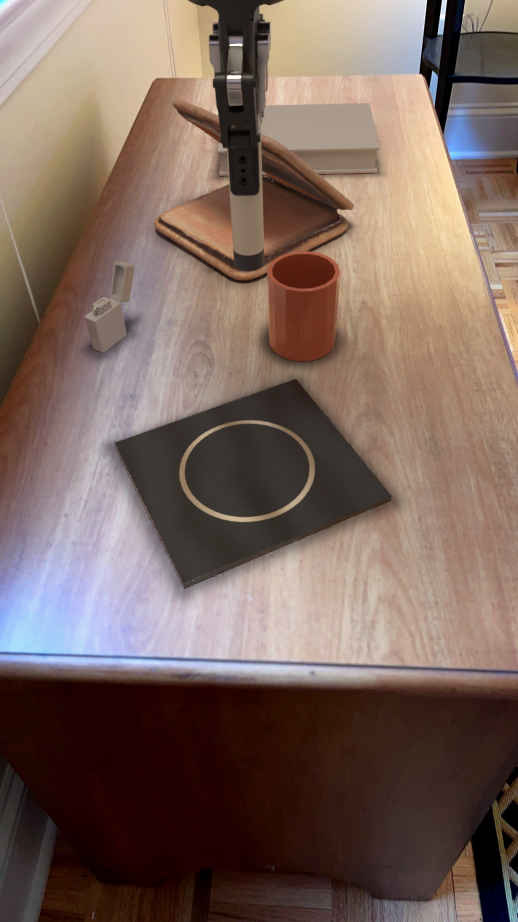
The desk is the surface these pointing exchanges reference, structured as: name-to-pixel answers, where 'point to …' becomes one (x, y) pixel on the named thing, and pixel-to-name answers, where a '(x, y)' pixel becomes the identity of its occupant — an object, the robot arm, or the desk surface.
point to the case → (284, 207)
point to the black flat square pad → (246, 479)
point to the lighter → (111, 310)
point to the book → (322, 136)
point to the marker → (248, 224)
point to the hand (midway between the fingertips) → (246, 182)
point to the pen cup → (303, 305)
